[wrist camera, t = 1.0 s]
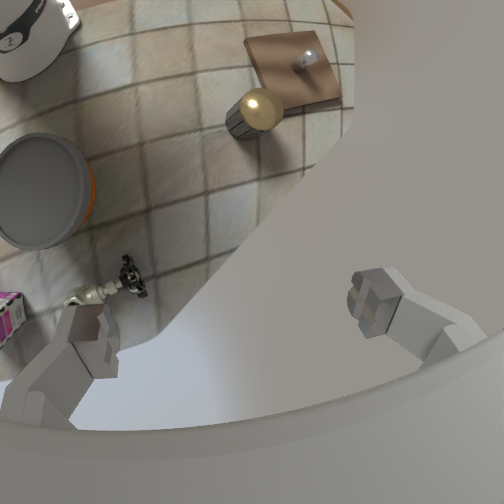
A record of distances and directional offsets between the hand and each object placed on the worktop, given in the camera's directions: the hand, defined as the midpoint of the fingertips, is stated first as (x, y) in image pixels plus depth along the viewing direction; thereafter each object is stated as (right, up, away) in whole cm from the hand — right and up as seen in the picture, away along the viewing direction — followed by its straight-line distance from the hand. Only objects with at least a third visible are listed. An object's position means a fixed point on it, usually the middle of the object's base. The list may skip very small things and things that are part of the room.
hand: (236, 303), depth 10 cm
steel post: (+8, +33, +35) cm, 48 cm away
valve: (-22, -3, +33) cm, 39 cm away
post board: (+8, +33, +36) cm, 50 cm away
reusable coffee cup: (-26, +10, +29) cm, 40 cm away
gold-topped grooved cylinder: (-1, +22, +35) cm, 41 cm away
